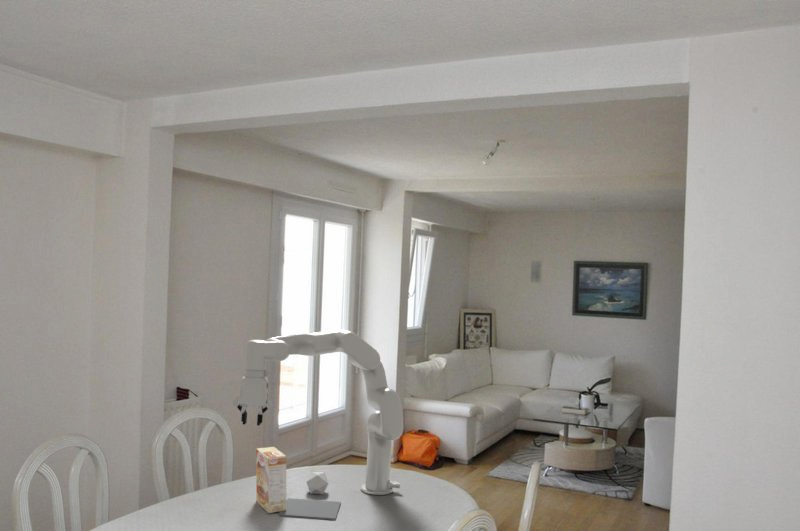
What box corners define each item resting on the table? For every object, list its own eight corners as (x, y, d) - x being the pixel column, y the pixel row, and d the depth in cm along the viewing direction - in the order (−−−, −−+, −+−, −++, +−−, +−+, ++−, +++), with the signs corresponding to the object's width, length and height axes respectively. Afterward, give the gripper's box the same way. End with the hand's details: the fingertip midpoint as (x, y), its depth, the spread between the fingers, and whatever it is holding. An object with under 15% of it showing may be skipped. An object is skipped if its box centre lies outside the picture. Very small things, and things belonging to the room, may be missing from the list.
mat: (340, 503, 264) (340, 501, 264) (335, 520, 246) (335, 518, 246) (287, 499, 264) (287, 498, 264) (278, 516, 246) (278, 514, 246)
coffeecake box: (255, 501, 260) (255, 448, 261) (274, 498, 264) (274, 446, 264) (267, 513, 247) (267, 457, 247) (287, 510, 250) (287, 455, 251)
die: (318, 499, 269) (333, 478, 272) (300, 486, 271) (315, 464, 274) (319, 500, 277) (334, 479, 280) (302, 487, 278) (317, 466, 281)
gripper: (280, 374, 260) (276, 423, 260) (234, 371, 260) (231, 420, 260) (276, 377, 252) (272, 428, 252) (229, 374, 253) (225, 424, 253)
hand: (251, 423), depth 256 cm, fingers open, 4 cm apart
